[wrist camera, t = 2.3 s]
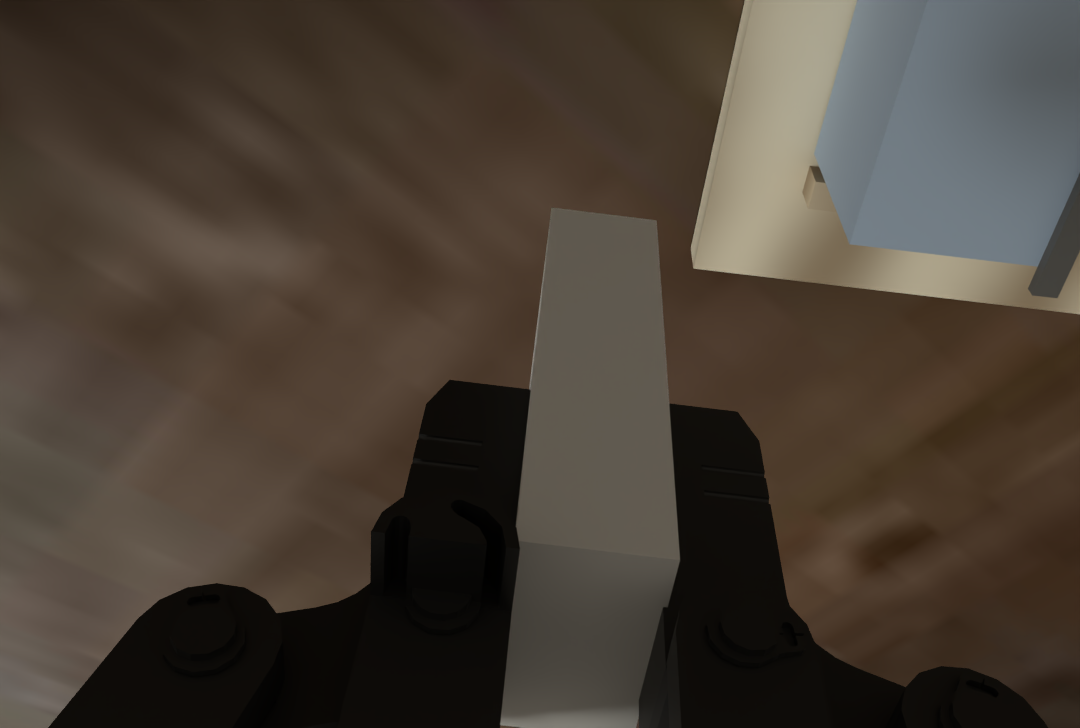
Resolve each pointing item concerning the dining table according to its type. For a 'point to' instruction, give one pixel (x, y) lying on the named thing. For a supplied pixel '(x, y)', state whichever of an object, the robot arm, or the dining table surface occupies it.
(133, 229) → the dining table surface
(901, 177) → the carriage
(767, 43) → the board
